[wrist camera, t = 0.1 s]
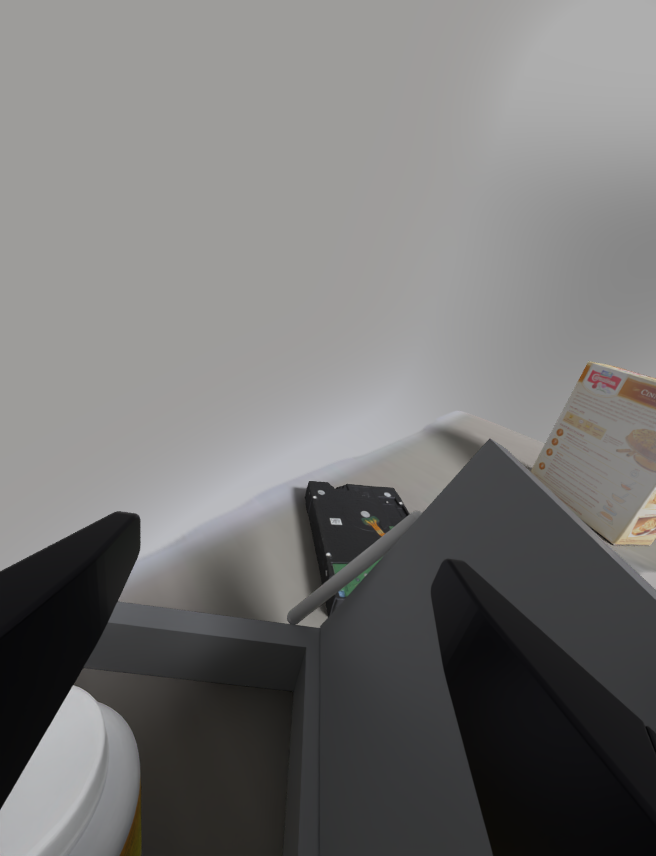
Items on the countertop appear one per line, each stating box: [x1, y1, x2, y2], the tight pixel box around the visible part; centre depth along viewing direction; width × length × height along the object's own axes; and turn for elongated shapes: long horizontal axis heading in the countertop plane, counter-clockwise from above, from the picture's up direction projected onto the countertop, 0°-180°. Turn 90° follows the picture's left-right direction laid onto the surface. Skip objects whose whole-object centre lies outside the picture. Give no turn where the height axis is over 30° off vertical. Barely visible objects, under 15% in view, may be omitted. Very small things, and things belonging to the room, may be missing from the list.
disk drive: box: [305, 481, 409, 616], centre depth 32 cm, size 10×3×15 cm
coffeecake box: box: [531, 361, 656, 545], centre depth 46 cm, size 15×7×20 cm, turn 13°
